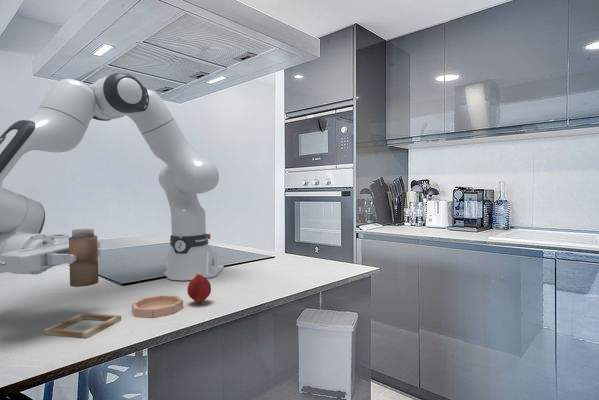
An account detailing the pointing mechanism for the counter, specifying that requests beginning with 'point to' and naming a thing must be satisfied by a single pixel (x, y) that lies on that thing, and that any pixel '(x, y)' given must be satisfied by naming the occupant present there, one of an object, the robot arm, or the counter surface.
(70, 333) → the holder frame
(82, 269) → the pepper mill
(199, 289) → the onion
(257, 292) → the counter surface
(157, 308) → the dish
